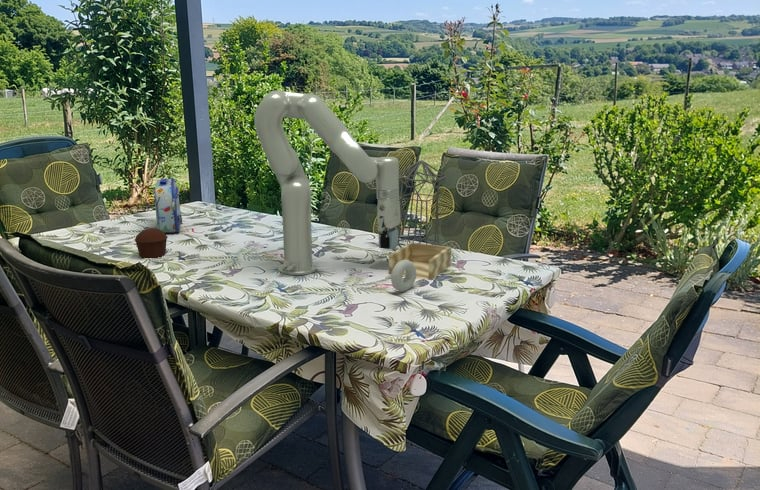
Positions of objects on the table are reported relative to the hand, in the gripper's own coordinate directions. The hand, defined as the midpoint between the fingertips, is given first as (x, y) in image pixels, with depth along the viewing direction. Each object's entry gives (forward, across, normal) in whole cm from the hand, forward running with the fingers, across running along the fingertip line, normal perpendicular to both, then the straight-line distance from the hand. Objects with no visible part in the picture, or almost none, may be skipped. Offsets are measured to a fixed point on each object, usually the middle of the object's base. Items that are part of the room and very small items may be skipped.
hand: (388, 245), depth 230 cm
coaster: (+8, 0, 0) cm, 8 cm away
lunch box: (+7, +12, +108) cm, 108 cm away
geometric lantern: (+8, +20, -4) cm, 22 cm away
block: (+1, 0, 0) cm, 1 cm away
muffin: (+7, -23, +84) cm, 88 cm away
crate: (+8, +1, -12) cm, 14 cm away
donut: (+8, -21, -14) cm, 27 cm away
